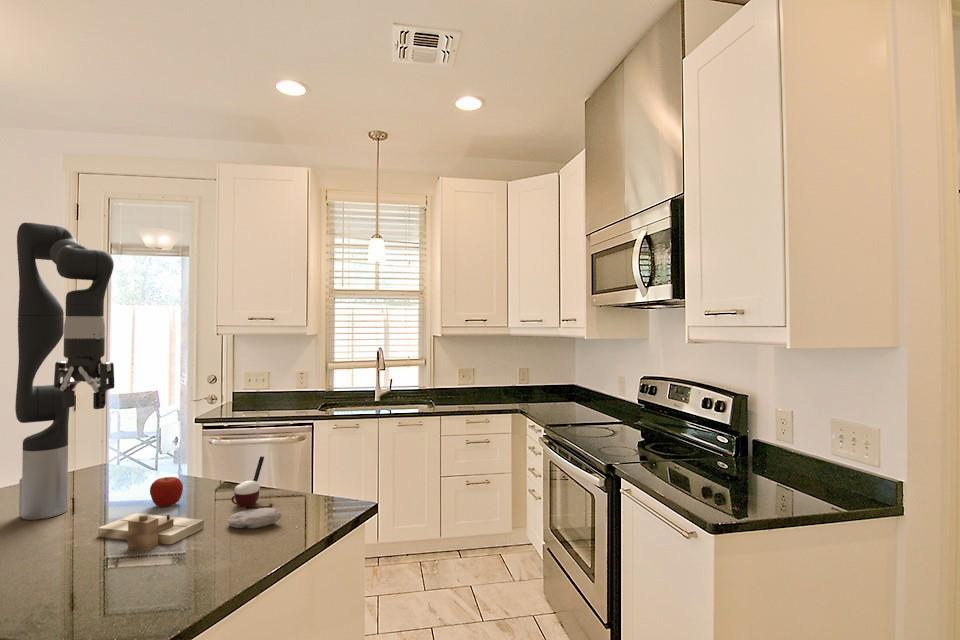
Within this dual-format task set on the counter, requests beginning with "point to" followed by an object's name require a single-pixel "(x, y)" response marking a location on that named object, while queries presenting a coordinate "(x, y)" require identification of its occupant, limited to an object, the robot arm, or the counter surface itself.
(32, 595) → the counter surface
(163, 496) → the apple
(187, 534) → the board
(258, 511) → the fossil
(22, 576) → the counter surface
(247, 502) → the cocoa
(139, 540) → the block
